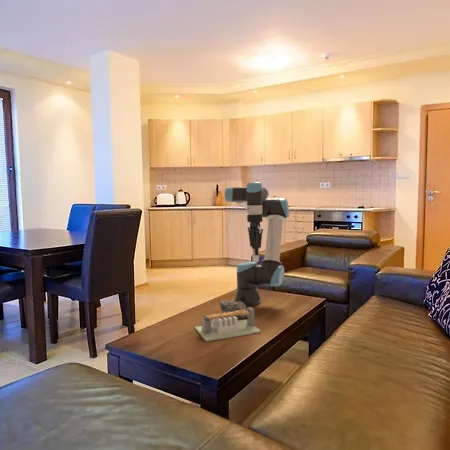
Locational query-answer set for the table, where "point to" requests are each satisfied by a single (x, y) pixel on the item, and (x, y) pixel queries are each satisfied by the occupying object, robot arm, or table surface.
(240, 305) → the rock
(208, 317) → the strap
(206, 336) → the heatsink board
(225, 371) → the table surface
